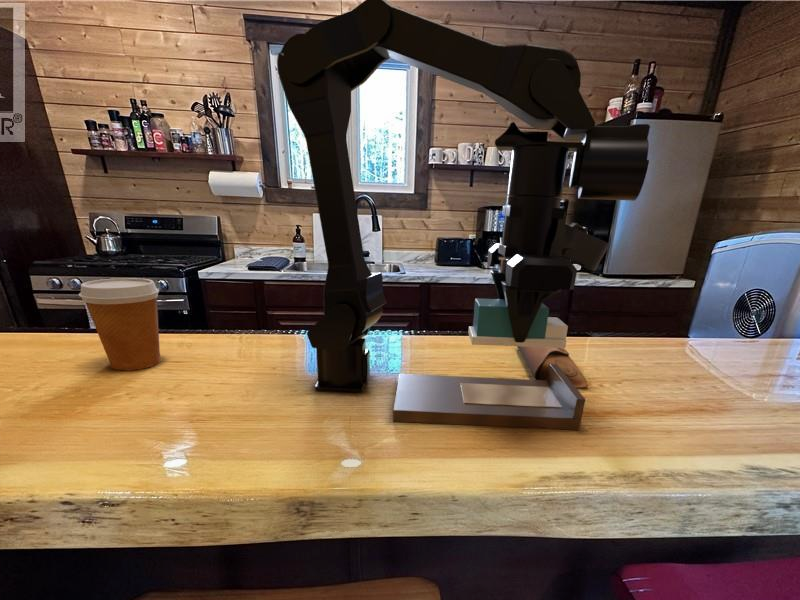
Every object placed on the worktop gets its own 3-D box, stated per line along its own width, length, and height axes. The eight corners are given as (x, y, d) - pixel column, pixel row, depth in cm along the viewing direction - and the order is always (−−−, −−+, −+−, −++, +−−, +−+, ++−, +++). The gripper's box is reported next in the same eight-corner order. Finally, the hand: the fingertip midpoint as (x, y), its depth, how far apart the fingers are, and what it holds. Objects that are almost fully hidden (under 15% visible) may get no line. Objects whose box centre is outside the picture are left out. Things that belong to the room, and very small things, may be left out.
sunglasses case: (593, 386, 62) (576, 346, 60) (547, 406, 64) (529, 368, 62) (561, 348, 79) (547, 317, 77) (525, 365, 81) (510, 334, 79)
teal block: (471, 344, 51) (475, 306, 49) (468, 333, 55) (471, 297, 54) (565, 348, 51) (572, 309, 49) (553, 336, 55) (559, 300, 54)
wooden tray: (392, 421, 51) (393, 390, 49) (399, 383, 62) (399, 356, 61) (579, 430, 51) (585, 399, 49) (552, 390, 62) (556, 364, 60)
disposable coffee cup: (184, 361, 67) (171, 283, 62) (118, 379, 59) (96, 291, 55) (151, 349, 71) (136, 275, 67) (85, 364, 64) (63, 282, 59)
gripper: (648, 199, 38) (611, 364, 44) (580, 201, 55) (559, 320, 61) (523, 193, 38) (502, 359, 44) (493, 197, 55) (481, 316, 61)
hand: (515, 335), depth 53 cm, fingers closed on teal block, 5 cm apart
